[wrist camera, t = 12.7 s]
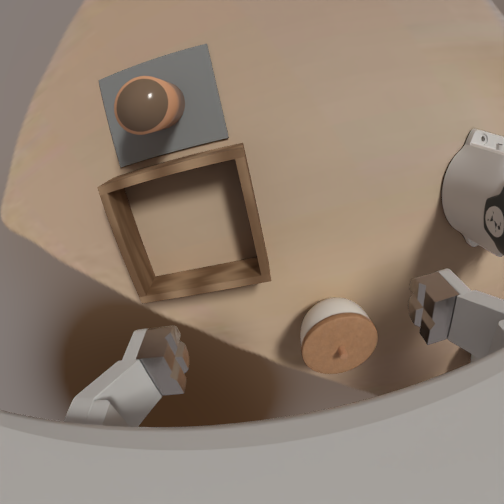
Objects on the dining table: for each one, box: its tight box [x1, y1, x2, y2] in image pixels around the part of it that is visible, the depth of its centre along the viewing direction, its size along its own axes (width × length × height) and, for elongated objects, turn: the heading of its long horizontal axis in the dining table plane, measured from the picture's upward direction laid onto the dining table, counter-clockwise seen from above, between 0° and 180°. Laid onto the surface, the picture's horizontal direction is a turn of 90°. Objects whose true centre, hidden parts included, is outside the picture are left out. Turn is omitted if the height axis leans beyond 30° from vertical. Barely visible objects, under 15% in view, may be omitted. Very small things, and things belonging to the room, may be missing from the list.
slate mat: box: [99, 44, 229, 167], centre depth 33 cm, size 14×12×1 cm
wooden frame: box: [97, 143, 271, 303], centre depth 37 cm, size 17×16×5 cm
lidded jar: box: [300, 297, 378, 374], centre depth 42 cm, size 11×11×9 cm
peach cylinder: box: [114, 76, 185, 135], centre depth 29 cm, size 6×6×7 cm
